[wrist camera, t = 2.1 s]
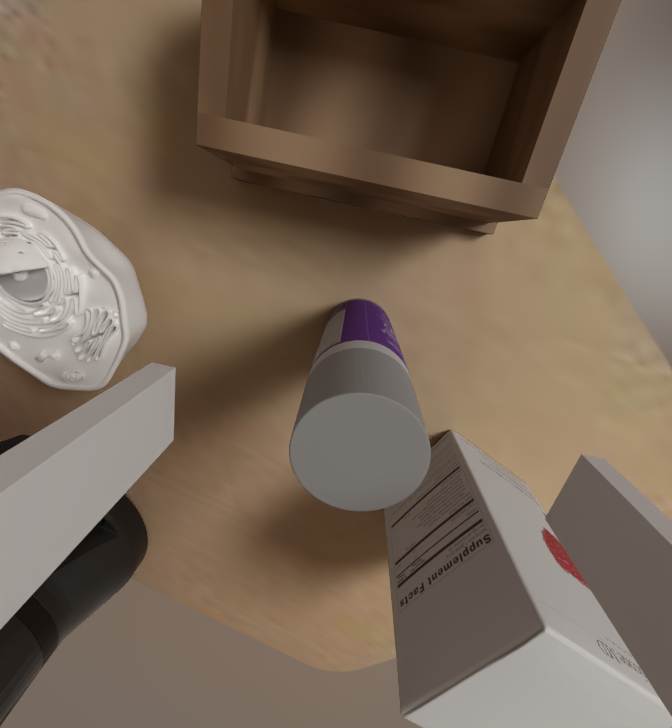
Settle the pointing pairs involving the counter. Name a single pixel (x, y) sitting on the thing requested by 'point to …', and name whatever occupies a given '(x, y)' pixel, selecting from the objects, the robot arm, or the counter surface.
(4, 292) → the cell model
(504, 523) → the supplement box
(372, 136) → the open wooden box
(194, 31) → the counter surface
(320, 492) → the container
